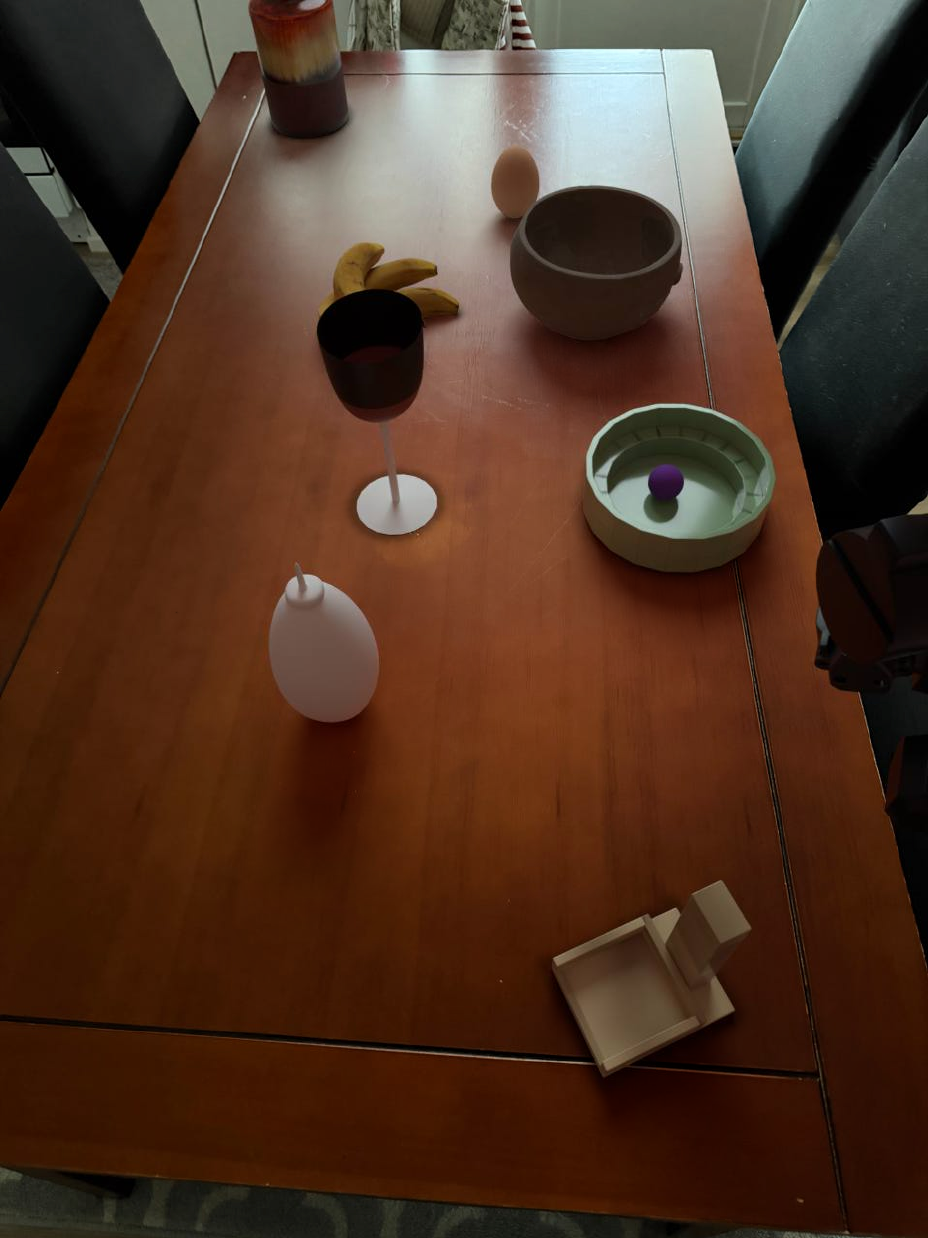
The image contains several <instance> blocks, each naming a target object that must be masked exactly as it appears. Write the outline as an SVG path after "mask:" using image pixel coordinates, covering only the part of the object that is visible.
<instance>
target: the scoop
mask: <svg viewBox="0 0 928 1238" xmlns="http://www.w3.org/2000/svg"><path fill="white" fill-rule="evenodd" d="M751 931H752V927H751V925H750V924H749V922H748V920H747V918H746V916H745V915H744V914H743V912H742V910H741V909H740V907H739V906H738V904H737V903H736V901H735V899H734V897H733V896H732V893H730V891H729V889H728V887H727V886H726V884H725V883H724V881H723V880H721V879H720V880H718V881H716V882H714V883H712V884H710V885H708V886H705V887H703V888H701V889H699V890H697V891H694V892H692V893H691V894H690V896H689V898H688V900H687V901H686V903H685V906H684V907H683V909H682V911H681V912H680V911H679V909H678V907H674V908H672V909H669V910H667V911H666V912H663V913H661V914H659V915H657V916H654V917H653V918H652V917H651V916H650V914H649V913H646V914H644V915H642V916H640V917H638V918H635V919H634V920H631V921H629V922H626V923H625V924H623V925H620V926H618V927H616V928H614V929H612V930H610V931H608V932H606V933H604V934H602V935H600V936H597V937H594V938H593V939H591V940H589V941H586V942H585V943H582V944H580V945H578V946H575V947H573V948H571V949H569V950H567V951H565V952H563V953H561V954H559V955H557V956H555V957H553V958H552V963H551V971H552V973H553V975H554V977H555V979H556V982H557V983H558V985H559V988H560V989H561V992H562V994H563V996H564V997H565V1001H566V1003H567V1005H568V1006H569V1009H570V1011H571V1013H572V1016H573V1017H574V1020H575V1022H576V1024H577V1026H578V1028H579V1030H580V1032H581V1035H582V1037H583V1039H584V1040H585V1042H586V1045H587V1047H588V1049H589V1051H590V1053H591V1056H592V1058H593V1060H594V1062H595V1064H596V1066H597V1068H598V1071H599V1073H600V1075H601V1077H602V1078H606V1077H608V1076H610V1075H612V1074H613V1073H616V1072H618V1071H620V1070H622V1069H624V1068H626V1067H628V1066H631V1065H632V1064H634V1063H636V1062H638V1061H640V1060H642V1059H644V1058H645V1057H648V1056H650V1055H651V1054H653V1053H656V1052H657V1051H660V1050H662V1049H663V1048H665V1047H668V1046H670V1045H671V1044H673V1043H675V1042H677V1041H680V1040H681V1039H683V1038H685V1037H688V1036H690V1035H691V1034H693V1033H695V1032H697V1031H699V1030H701V1029H703V1028H705V1027H707V1026H709V1025H712V1024H714V1023H715V1022H717V1021H719V1020H721V1019H723V1018H725V1017H727V1016H729V1015H731V1014H733V1013H734V1012H735V1011H736V1010H735V1007H734V1005H733V1004H732V1002H731V1000H730V998H729V996H728V994H727V993H726V991H725V990H724V987H723V986H722V985H721V982H720V981H719V980H718V977H717V976H716V975H717V974H718V973H719V972H720V971H721V969H722V968H723V967H724V966H725V965H726V963H727V962H728V961H729V959H730V958H731V956H732V955H733V954H734V953H735V951H736V950H737V949H738V948H739V946H740V945H741V944H742V942H743V941H744V940H745V939H746V937H747V936H748V935H749V934H750V932H751Z"/></svg>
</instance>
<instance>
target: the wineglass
mask: <svg viewBox="0 0 928 1238" xmlns="http://www.w3.org/2000/svg"><path fill="white" fill-rule="evenodd" d="M396 291H397V290H395V291H391V290H385V289H369V290H362V291H357V292H354V293H351V294H348V295H346V296H344V297H342V298H340V299H338V300H337V301H335V302H334V303H332V304H331V305H330V306H329V307H328V308H327V309H326V310H325V311H324V312H323V314H322V315H321V317H320V319H319V318H318V321H317V325H316V337H317V341H318V346H319V351H320V354H321V358H322V361H323V364H324V367H325V370H326V371H325V372H326V374H327V376H328V377H327V378H328V379H329V382H330V384H331V387H332V389H333V391H334V393H335V395H336V397H337V398H338V400H339V402H340V403H341V404H342V406H343V407H344V409H346V410H347V411H348V412H349V413H350V414H351V415H352V416H353V417H355V418H356V419H358V420H361V421H363V422H368V423H373V424H375V423H376V424H379V425H380V430H381V431H380V433H381V439H382V443H383V444H382V445H383V451H384V458H385V464H386V471H387V475H386V476H382V477H379V478H378V479H375V480H374V481H372V482H370V483H368V485H367V486H366V487H365V488H364V489H363V490H362V491H361V492H360V495H359V496H358V497H357V500H356V512H357V515H358V518H359V520H360V521H361V523H363V524H364V526H365V527H367V528H368V529H370V530H372V531H374V532H375V533H379V534H383V535H388V536H393V535H396V536H397V535H405V534H408V533H411V532H416V531H417V530H419V529H420V528H422V527H424V526H425V525H426V524H427V523H428V522H429V521H430V520H431V519H432V518H433V517H434V515H435V513H436V510H437V507H438V498H437V495H436V493H435V490H434V488H433V487H432V486H431V485H430V484H429V483H428V482H426V480H424V479H421V478H419V477H417V476H414V475H410V474H397V467H396V460H395V453H394V447H393V440H392V433H391V425H390V421H392V420H395V419H396V418H398V417H399V416H401V415H403V414H404V413H405V412H407V410H409V408H410V407H411V406H412V405H413V403H414V401H415V400H416V398H417V395H418V393H419V391H420V388H421V385H422V382H423V377H424V366H425V337H424V336H425V335H424V328H423V320H424V319H423V317H422V314H421V311H420V309H419V307H418V306H417V304H416V303H415V302H414V301H413V300H411V299H410V298H409V297H407V296H405V295H403V294H401V293H398V292H396ZM422 319H423V320H422Z"/></svg>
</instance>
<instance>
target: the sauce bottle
mask: <svg viewBox="0 0 928 1238" xmlns="http://www.w3.org/2000/svg"><path fill="white" fill-rule="evenodd" d="M294 572H295V576H293V577H292V578H291V579H289V581H288V582H287V583H286V585H285V588H284V592H283V594H282V596H280V598H279V600H278V602H277V604H276V606H275V608H274V611H273V615H272V617H271V618H272V619H271V622H270V627H269V635H268V657H269V661H270V668H271V672H272V676H273V678H274V681H275V683H276V686H277V688H278V690H279V693H280V694H281V695H282V696H283V698H284V699H285V701H286V702H287V703H288V704H289V705H290V706H291V708H293V709H294V710H295V711H297V712H298V713H299V714H301V716H302V715H303V716H304V717H306V718H309V719H310V720H314V721H317V722H322V723H339V722H344V721H348V720H350V719H352V718H354V717H356V716H357V715H359V714H360V713H361V712H363V711H364V709H365V708H366V707H367V706H368V704H370V701H371V700H372V698H373V696H374V693H375V691H376V688H377V686H378V685H377V684H378V681H379V673H380V657H379V650H378V644H377V641H376V637H375V634H374V632H373V629H372V626H371V625H370V624H369V621H368V619H367V618H366V615H365V614H364V613H363V611H362V610H361V609H360V608H359V606H358V605H357V604H356V603H355V602H354V601H353V600H352V599H351V597H350V596H348V595H347V594H346V593H344V592H343V591H342V590H340V589H339V588H337V587H335V586H333V585H332V584H330V583H327V582H325V581H322V580H321V579H320V578H319V577H317V576H316V575H315V574H314V575H313V574H307V573H306V574H303V571H302V569H301V567H300V565H299V564H298V563H297V562H295V563H294Z"/></svg>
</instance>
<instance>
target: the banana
mask: <svg viewBox="0 0 928 1238" xmlns="http://www.w3.org/2000/svg"><path fill="white" fill-rule="evenodd" d="M385 252H386V251H385V247H384V246H383V245H382V244H380V243H377V242H367V241H363V242H359V243H356V244H354V245H353V246H351V247H350V248H348V249H347V250H346V251H345V252H344V253H343V254H342V256H341V257H340V258H339V260H338V262H337V264H336V266H335V269H334V274H333V279H332V289H333V291H332V292H331V293H329V295H328V296H327V297H326V298H325V299H324V300H323V301H322V302H321V304H320V306H319V308H318V320H319V319H320V317H321V315H322V314H323V312H324V311H325V310H326V309H327V308H328V307H329V306H330V305H331V304H332V303H334V302H335V301H337V300H338V299H340V298H342V297H344V296H346V295H348V294H351V293H354V292H357V291H362V290H369V289H385V290H391V291H396V292H398V293H401V294H403V295H405V296H407V297H409V298H410V299H411V300H413V301H414V302H415V303H416V304H417V306H418V307H419V309H420V311H421V314H422V320H423V329H427V327H426V322H425V320H424V319H423V318H428V317H438V316H439V317H440V316H443V315H444V316H445V315H447V316H448V315H457V314H459V309H460V302H459V301H458V299H456V298H455V297H454V296H452V295H451V294H450V293H448V292H447V291H445V290H442V289H439V288H435V287H423V286H422V287H421V286H419V287H411V286H413V285H417V284H418V283H421V282H422V281H425V280H427V279H430V278H435V277H436V276H438V275H439V274H438V273H439V272H438V266H437V265H436V264H435V263H433V262H431V261H428V260H424V259H420V258H412V257H407V258H401V259H396V260H393V261H389V262H386V263H382V264H379V265H377V264H378V263H379V261H380V260H381V258H382V256H383V255H384V254H385ZM376 265H377V266H376ZM408 287H409V288H408ZM410 287H411V288H410Z"/></svg>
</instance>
